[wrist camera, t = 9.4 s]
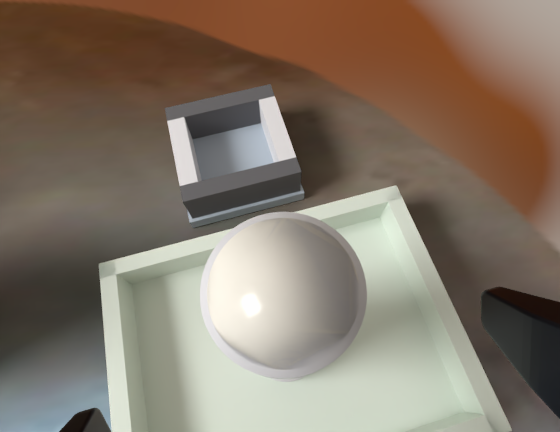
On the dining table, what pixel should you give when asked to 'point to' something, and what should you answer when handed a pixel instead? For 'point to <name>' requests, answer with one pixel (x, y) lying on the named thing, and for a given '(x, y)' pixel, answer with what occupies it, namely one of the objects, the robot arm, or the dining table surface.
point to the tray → (314, 387)
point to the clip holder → (233, 155)
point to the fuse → (283, 295)
